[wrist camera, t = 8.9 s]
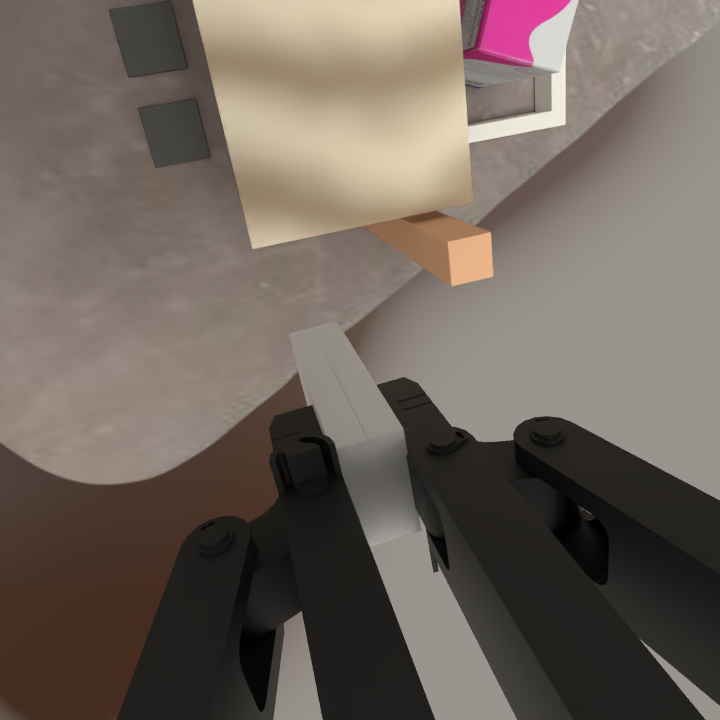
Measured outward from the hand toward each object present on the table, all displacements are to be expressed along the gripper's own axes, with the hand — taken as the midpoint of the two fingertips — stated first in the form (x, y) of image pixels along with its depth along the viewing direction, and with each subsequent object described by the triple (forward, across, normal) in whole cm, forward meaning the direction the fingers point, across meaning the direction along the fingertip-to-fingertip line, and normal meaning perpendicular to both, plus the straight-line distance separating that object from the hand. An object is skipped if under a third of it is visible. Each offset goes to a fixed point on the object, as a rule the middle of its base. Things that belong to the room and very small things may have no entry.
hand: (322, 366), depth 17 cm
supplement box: (+31, +18, +9) cm, 37 cm away
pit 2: (+30, -4, +7) cm, 31 cm away
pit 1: (+30, -4, +13) cm, 33 cm away
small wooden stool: (+30, +6, +8) cm, 32 cm away
